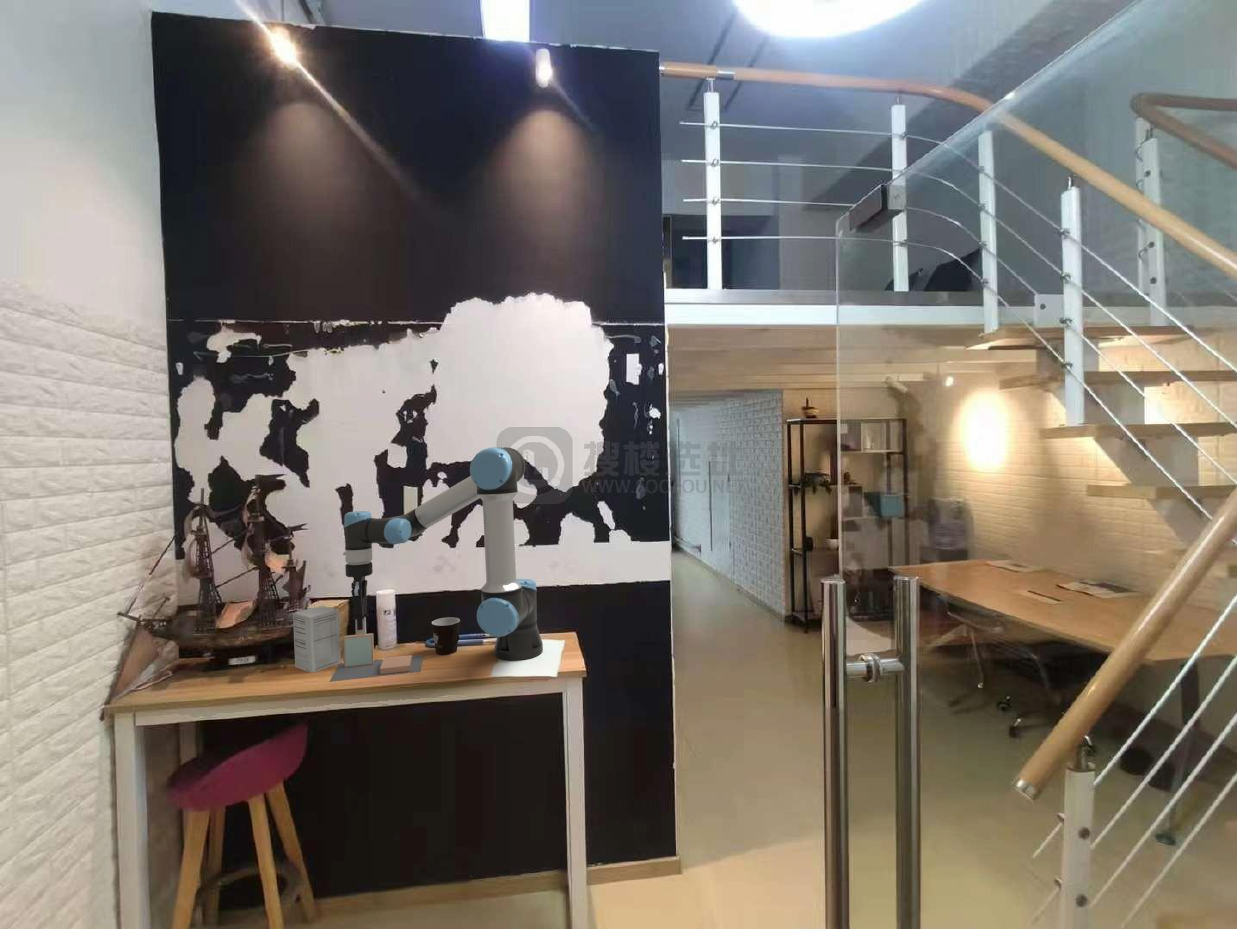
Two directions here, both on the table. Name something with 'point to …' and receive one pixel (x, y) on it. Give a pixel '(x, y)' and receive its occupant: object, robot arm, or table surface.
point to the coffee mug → (446, 635)
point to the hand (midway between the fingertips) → (361, 639)
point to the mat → (371, 670)
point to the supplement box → (316, 638)
